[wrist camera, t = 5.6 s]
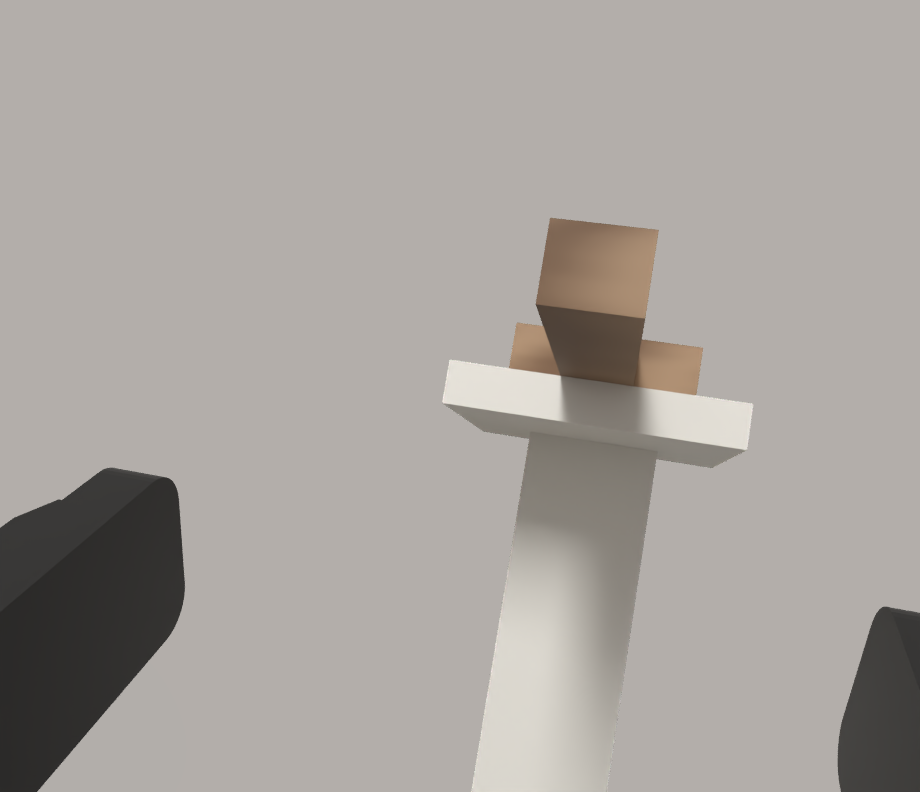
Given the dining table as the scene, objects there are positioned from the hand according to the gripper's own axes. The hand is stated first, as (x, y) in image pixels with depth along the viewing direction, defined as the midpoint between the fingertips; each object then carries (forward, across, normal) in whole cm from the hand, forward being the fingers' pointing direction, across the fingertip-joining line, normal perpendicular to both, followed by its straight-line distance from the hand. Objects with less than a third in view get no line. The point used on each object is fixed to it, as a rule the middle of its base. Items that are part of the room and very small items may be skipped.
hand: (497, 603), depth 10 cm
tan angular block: (+19, 0, -5) cm, 20 cm away
